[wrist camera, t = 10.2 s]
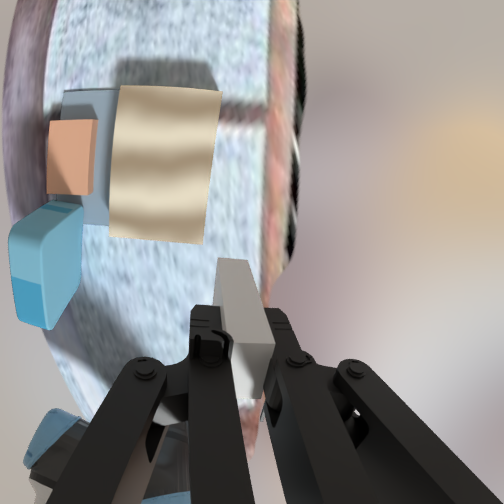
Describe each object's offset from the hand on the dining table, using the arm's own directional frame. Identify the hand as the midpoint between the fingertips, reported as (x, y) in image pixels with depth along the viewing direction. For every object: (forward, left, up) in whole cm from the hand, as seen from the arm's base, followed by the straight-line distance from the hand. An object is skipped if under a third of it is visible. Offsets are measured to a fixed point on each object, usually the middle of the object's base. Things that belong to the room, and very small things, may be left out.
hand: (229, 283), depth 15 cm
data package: (-8, +20, -22) cm, 31 cm away
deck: (+4, +7, -22) cm, 24 cm away
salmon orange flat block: (+4, +18, -20) cm, 28 cm away
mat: (+4, +17, -22) cm, 28 cm away
